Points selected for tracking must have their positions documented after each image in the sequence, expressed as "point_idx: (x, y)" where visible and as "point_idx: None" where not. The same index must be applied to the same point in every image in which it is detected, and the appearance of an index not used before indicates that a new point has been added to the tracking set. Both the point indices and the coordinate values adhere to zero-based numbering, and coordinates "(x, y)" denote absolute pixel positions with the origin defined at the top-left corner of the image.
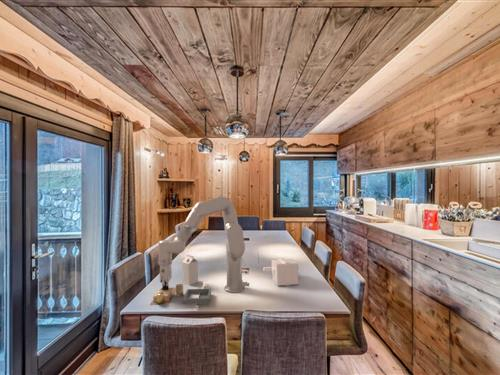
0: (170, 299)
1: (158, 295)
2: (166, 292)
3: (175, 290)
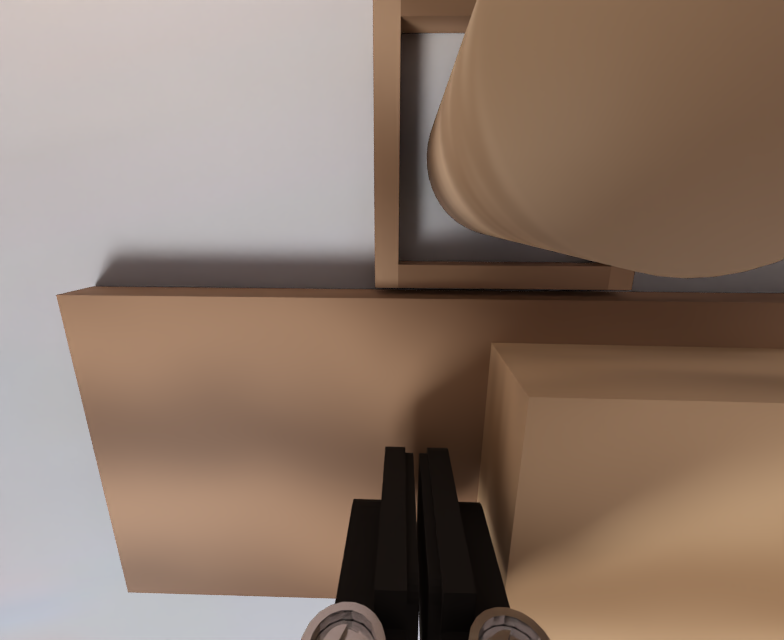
0: (725, 320)
1: None
2: (691, 498)
3: (233, 310)
